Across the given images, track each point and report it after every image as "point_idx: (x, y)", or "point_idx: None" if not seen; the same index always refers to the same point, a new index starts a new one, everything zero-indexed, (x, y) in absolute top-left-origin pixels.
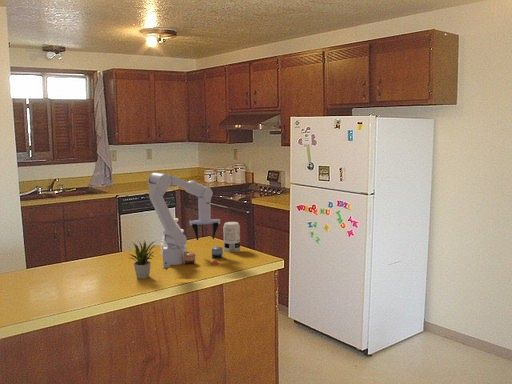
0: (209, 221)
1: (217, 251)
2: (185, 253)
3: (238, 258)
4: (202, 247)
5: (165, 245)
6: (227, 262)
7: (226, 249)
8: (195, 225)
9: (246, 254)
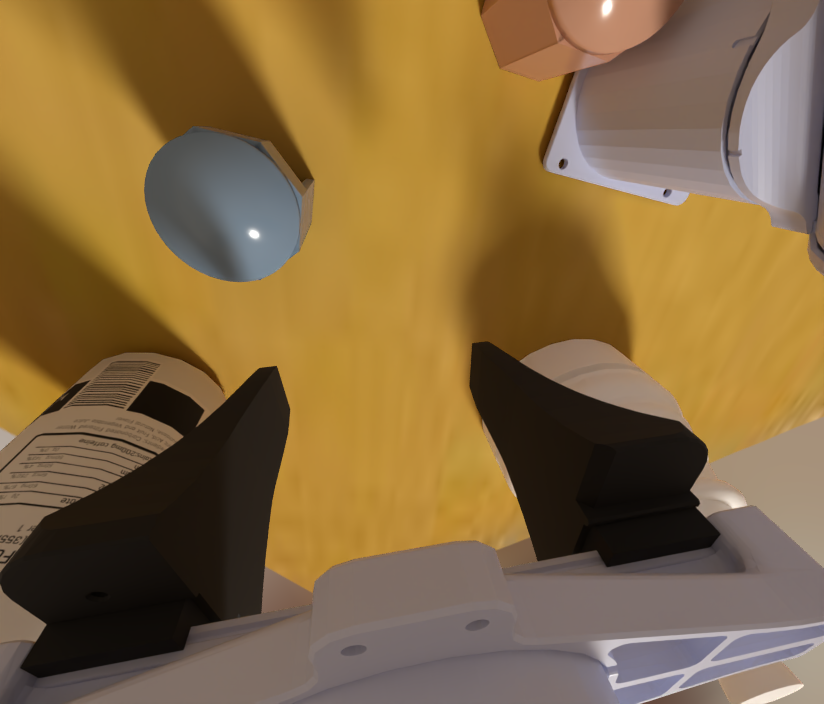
0: (249, 692)
1: (216, 132)
2: (670, 4)
3: (42, 218)
4: (382, 493)
5: (675, 402)
6: (132, 80)
7: (189, 386)
8: (629, 521)
9: (3, 334)
